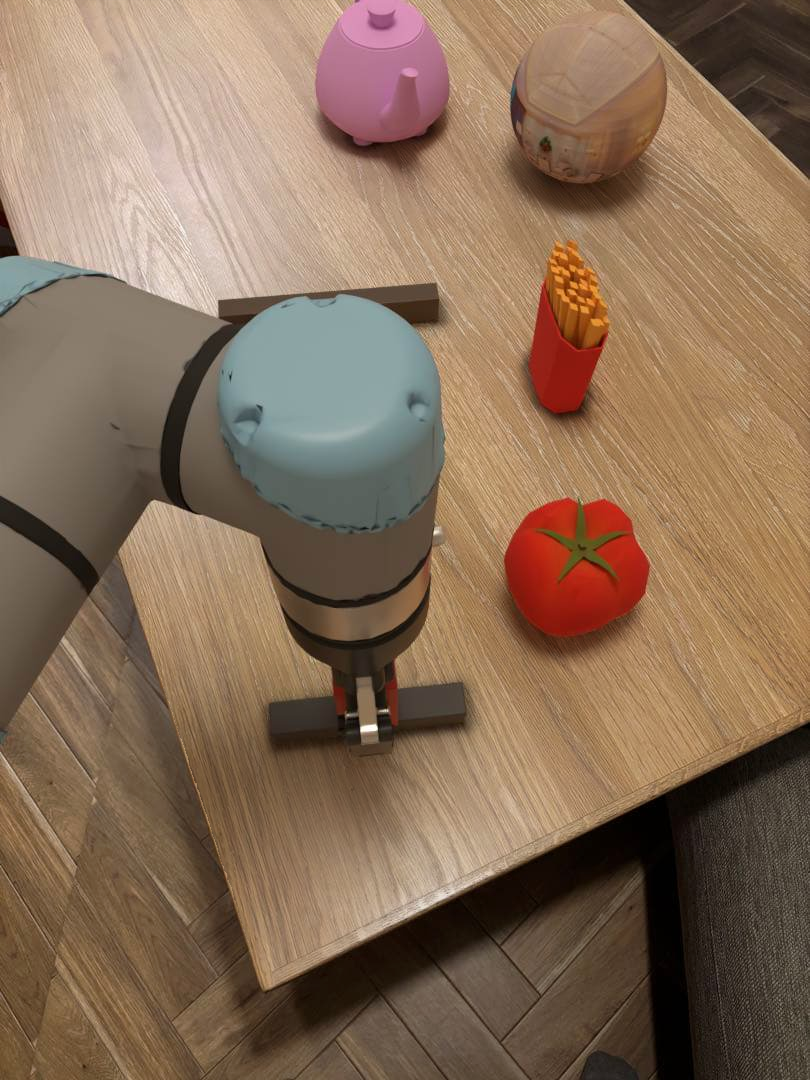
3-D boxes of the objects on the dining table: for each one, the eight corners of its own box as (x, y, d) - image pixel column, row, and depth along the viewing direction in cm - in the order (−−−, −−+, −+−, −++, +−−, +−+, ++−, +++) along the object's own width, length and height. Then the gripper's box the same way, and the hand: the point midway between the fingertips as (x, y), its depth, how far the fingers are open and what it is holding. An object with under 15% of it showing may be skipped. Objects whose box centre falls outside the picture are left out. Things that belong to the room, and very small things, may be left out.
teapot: (475, 171, 91) (486, 61, 80) (344, 196, 89) (336, 87, 78) (421, 54, 99) (424, -60, 88) (301, 74, 97) (289, -39, 87)
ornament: (614, 107, 95) (649, -35, 82) (666, 201, 89) (714, 63, 75) (484, 130, 93) (498, -12, 80) (528, 227, 87) (552, 90, 74)
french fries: (592, 416, 76) (626, 316, 65) (545, 424, 76) (571, 324, 64) (563, 337, 80) (591, 228, 69) (519, 343, 80) (539, 235, 68)
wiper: (465, 726, 64) (477, 680, 54) (274, 747, 63) (252, 704, 53) (459, 687, 65) (470, 635, 55) (273, 707, 64) (250, 658, 54)
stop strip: (438, 321, 81) (439, 298, 79) (224, 338, 80) (218, 316, 77) (435, 305, 82) (436, 282, 79) (223, 322, 81) (217, 299, 78)
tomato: (480, 624, 67) (491, 577, 60) (528, 511, 72) (544, 455, 64) (609, 677, 65) (638, 636, 58) (650, 558, 70) (682, 505, 62)
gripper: (453, 728, 38) (433, 818, 59) (411, 425, 45) (407, 602, 66) (282, 747, 37) (323, 831, 58) (267, 438, 45) (308, 611, 66)
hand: (367, 709), depth 62 cm, fingers closed on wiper, 3 cm apart
